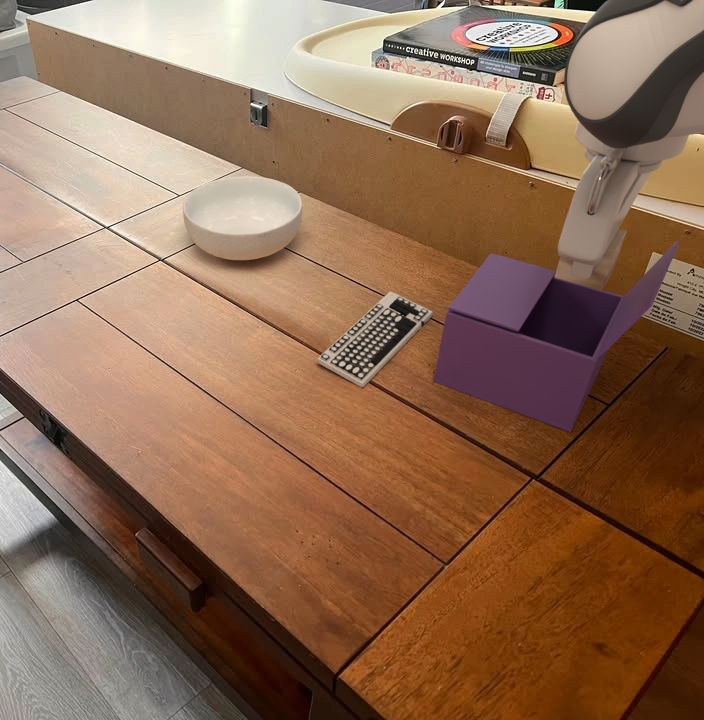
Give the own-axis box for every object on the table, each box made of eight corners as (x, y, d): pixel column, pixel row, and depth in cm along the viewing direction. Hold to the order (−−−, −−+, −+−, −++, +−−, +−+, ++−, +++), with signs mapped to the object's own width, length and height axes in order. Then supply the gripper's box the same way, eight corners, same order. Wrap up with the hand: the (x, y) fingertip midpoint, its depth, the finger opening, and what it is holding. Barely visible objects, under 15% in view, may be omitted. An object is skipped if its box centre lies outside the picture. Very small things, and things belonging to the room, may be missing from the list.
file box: (602, 365, 87) (629, 291, 80) (570, 432, 79) (598, 355, 72) (474, 324, 94) (490, 252, 87) (433, 381, 85) (447, 307, 79)
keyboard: (363, 388, 85) (364, 377, 84) (315, 367, 88) (316, 356, 87) (432, 316, 95) (434, 305, 94) (388, 299, 98) (389, 289, 97)
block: (613, 270, 76) (627, 230, 73) (601, 291, 73) (616, 250, 70) (566, 257, 78) (578, 218, 75) (554, 277, 75) (565, 237, 72)
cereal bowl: (187, 219, 116) (185, 176, 112) (296, 216, 116) (298, 173, 112) (182, 279, 103) (179, 233, 99) (305, 277, 103) (307, 231, 98)
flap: (628, 291, 81) (630, 292, 80) (597, 355, 72) (600, 357, 72) (676, 240, 75) (679, 242, 75) (649, 303, 67) (652, 305, 67)
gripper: (647, 175, 58) (596, 323, 66) (694, 93, 71) (646, 225, 79) (562, 157, 61) (523, 301, 69) (622, 81, 74) (583, 210, 82)
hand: (589, 260), depth 74 cm, fingers closed on block, 4 cm apart
